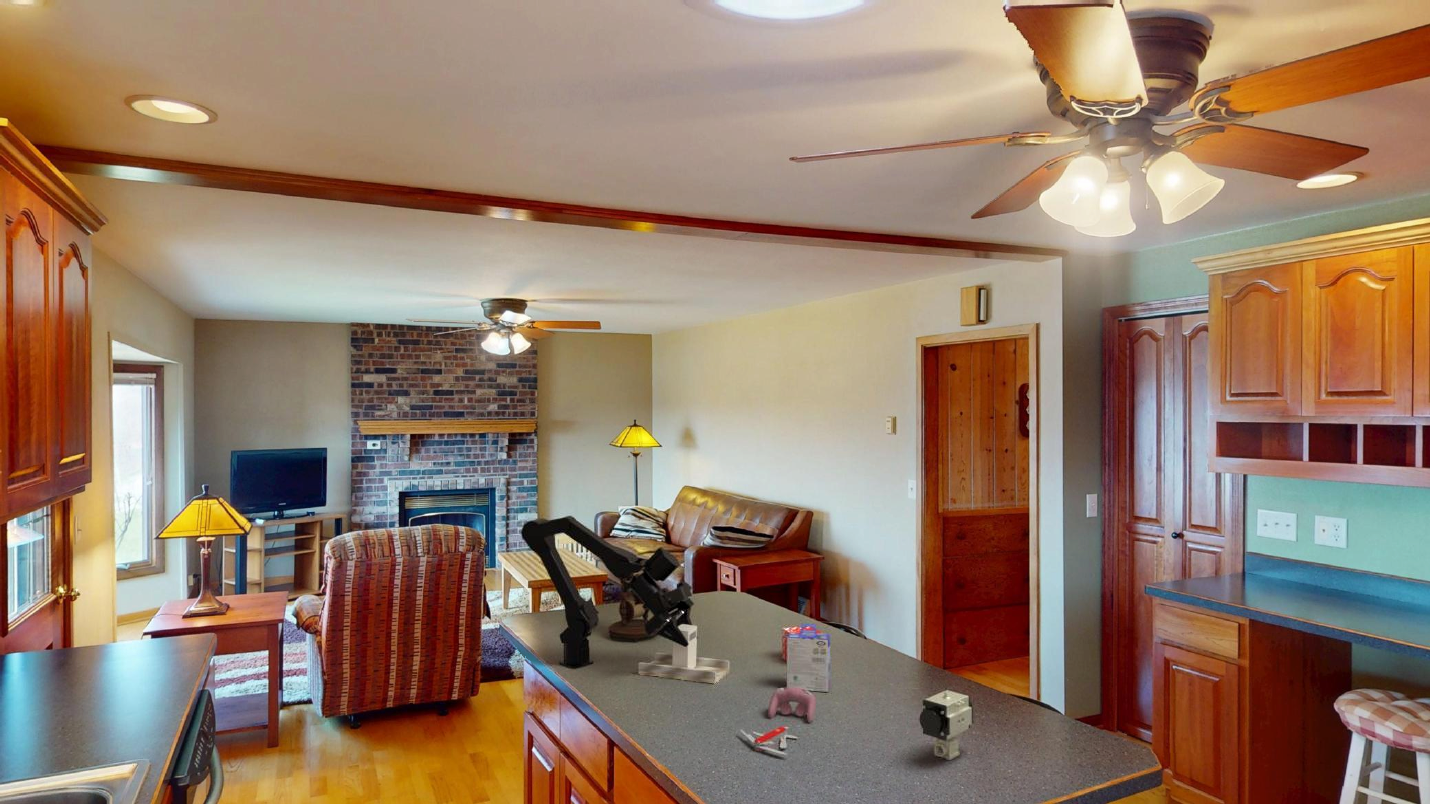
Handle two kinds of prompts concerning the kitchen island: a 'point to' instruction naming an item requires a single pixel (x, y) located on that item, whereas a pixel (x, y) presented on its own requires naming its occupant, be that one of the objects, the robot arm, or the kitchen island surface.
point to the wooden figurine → (630, 615)
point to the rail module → (686, 648)
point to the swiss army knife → (770, 740)
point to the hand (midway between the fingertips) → (692, 642)
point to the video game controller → (793, 695)
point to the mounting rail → (686, 669)
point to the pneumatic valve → (946, 720)
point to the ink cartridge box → (808, 660)
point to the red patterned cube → (785, 634)
